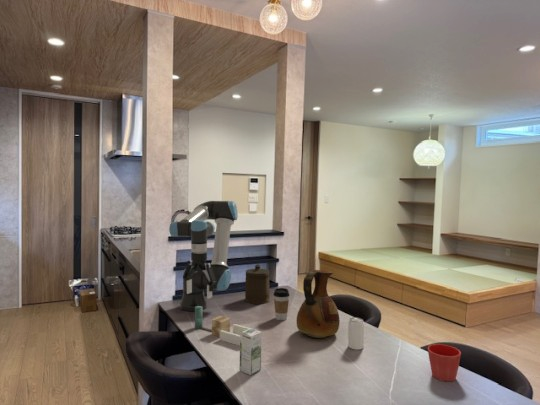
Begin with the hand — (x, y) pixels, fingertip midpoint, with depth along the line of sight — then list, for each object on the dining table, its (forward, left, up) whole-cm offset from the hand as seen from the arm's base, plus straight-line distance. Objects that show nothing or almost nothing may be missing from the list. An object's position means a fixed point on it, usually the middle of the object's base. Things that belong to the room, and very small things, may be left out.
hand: (199, 295), depth 176 cm
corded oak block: (+8, 0, -16) cm, 17 cm away
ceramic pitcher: (+51, +26, -16) cm, 59 cm away
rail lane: (+25, 0, -16) cm, 30 cm away
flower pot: (+106, +16, -16) cm, 108 cm away
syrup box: (+46, -20, -16) cm, 53 cm away
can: (+71, +22, -16) cm, 76 cm away
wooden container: (-3, +53, -16) cm, 55 cm away
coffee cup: (+26, +34, -16) cm, 45 cm away
